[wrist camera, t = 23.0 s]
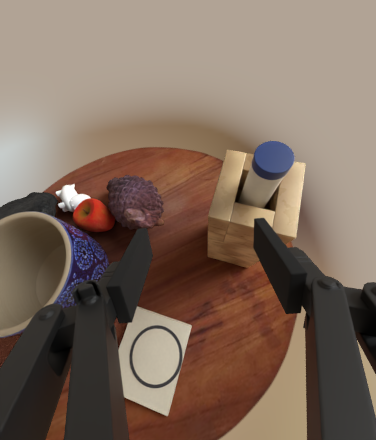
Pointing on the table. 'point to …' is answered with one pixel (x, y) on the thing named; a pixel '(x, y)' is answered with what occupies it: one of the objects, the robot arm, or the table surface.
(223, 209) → the pen block
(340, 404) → the robot arm
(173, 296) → the table surface
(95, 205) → the apple
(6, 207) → the rock
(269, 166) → the marker
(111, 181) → the pine cone
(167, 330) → the drawing board
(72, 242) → the planter
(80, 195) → the toy creature
